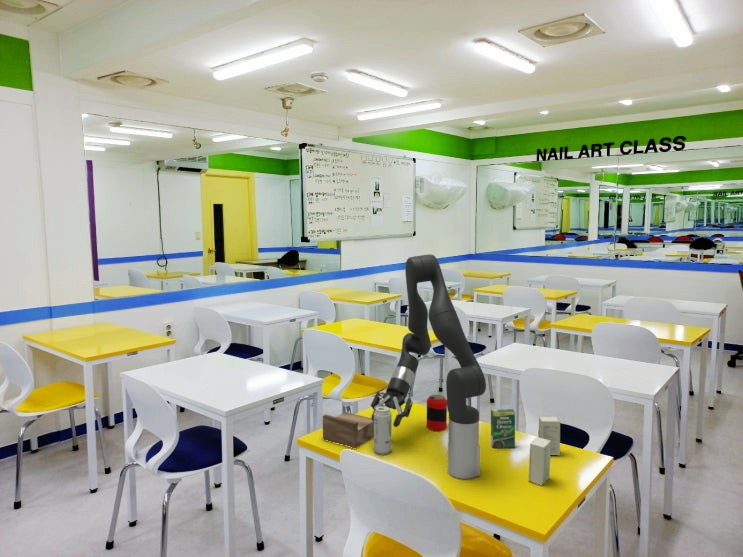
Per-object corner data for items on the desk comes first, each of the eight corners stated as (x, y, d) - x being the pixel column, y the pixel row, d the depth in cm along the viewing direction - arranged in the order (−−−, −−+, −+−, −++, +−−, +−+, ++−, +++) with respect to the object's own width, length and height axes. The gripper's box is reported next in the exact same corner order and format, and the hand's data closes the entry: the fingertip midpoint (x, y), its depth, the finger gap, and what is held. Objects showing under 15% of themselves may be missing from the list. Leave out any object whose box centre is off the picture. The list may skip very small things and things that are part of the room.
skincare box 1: (556, 451, 176) (558, 416, 174) (560, 456, 171) (561, 421, 170) (537, 450, 176) (538, 415, 175) (540, 455, 172) (541, 420, 171)
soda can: (422, 426, 198) (423, 395, 196) (438, 422, 201) (439, 392, 200) (434, 432, 191) (434, 401, 190) (450, 429, 194) (451, 398, 193)
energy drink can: (389, 456, 172) (390, 412, 170) (372, 454, 173) (372, 411, 171) (392, 448, 177) (392, 406, 176) (375, 446, 179) (375, 405, 177)
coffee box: (491, 448, 178) (492, 411, 176) (489, 445, 180) (490, 408, 179) (515, 448, 178) (516, 411, 176) (512, 445, 181) (513, 408, 179)
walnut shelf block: (345, 427, 196) (345, 404, 195) (376, 435, 189) (376, 411, 188) (322, 440, 184) (322, 415, 183) (355, 449, 177) (355, 423, 176)
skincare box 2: (536, 474, 159) (537, 436, 158) (550, 478, 156) (551, 440, 155) (527, 482, 154) (529, 443, 153) (542, 486, 152) (543, 447, 150)
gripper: (379, 373, 185) (362, 414, 176) (415, 380, 177) (398, 422, 169) (387, 384, 190) (370, 424, 181) (421, 390, 182) (406, 433, 174)
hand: (384, 423), depth 175 cm, fingers open, 8 cm apart
